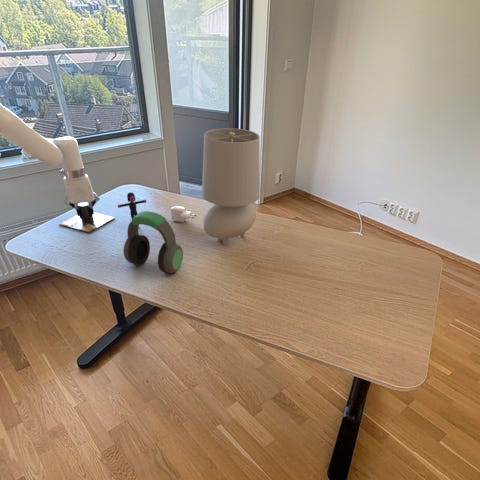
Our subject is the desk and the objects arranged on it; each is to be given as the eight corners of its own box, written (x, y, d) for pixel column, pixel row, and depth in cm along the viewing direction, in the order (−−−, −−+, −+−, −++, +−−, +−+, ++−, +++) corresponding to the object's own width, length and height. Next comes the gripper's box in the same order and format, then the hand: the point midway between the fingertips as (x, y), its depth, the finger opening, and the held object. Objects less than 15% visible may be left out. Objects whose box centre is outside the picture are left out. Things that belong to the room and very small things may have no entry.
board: (89, 233, 142) (88, 232, 141) (59, 225, 146) (59, 223, 146) (114, 218, 153) (114, 217, 152) (86, 211, 157) (86, 209, 157)
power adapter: (198, 221, 154) (197, 209, 150) (193, 226, 151) (192, 213, 147) (175, 217, 157) (174, 204, 153) (170, 221, 153) (169, 208, 149)
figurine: (124, 232, 144) (117, 197, 134) (121, 228, 146) (113, 193, 136) (151, 226, 149) (146, 191, 139) (148, 222, 151) (143, 188, 141)
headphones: (185, 265, 127) (182, 213, 114) (171, 280, 119) (165, 227, 106) (141, 254, 131) (132, 203, 118) (124, 268, 124) (113, 215, 110)
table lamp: (239, 223, 154) (244, 123, 128) (268, 244, 141) (279, 137, 114) (193, 235, 144) (188, 128, 118) (219, 259, 131) (219, 145, 105)
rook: (81, 223, 147) (77, 207, 142) (81, 218, 150) (76, 202, 145) (93, 221, 148) (89, 205, 143) (93, 216, 151) (88, 201, 147)
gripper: (51, 177, 131) (65, 222, 143) (97, 174, 136) (107, 217, 148) (51, 171, 136) (65, 215, 148) (96, 167, 141) (106, 210, 153)
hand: (86, 216), depth 148 cm, fingers closed on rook, 3 cm apart
